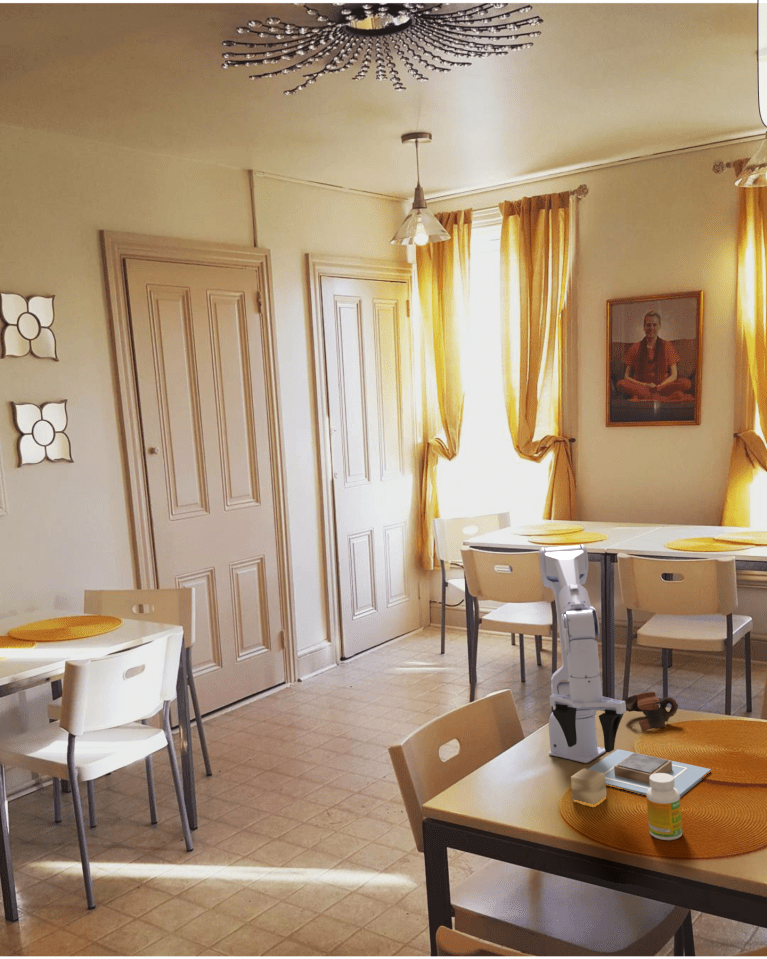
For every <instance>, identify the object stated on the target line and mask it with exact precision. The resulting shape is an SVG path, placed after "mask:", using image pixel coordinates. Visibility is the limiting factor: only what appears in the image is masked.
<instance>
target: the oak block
mask: <svg viewBox="0 0 767 959" xmlns="http://www.w3.org/2000/svg"><path fill="white" fill-rule="evenodd" d="M570 784H571V796H572V800H573V799H574V800H578V801H582V802H586V803H590V804H593V805H594V804H596V803H597V802H599V801H600V800H601V799H603V798H604V797H606V796H607V786H606V782H605V773H601V772H597V771H593V770H589V769H588V768H584V767H583V768H582V769H580V770H578V771H577V772H576V773H574V774H573V775H571V776H570ZM607 797H608V796H607Z"/></svg>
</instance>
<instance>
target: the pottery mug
mask: <svg viewBox="0 0 767 959" xmlns="http://www.w3.org/2000/svg"><path fill="white" fill-rule="evenodd" d="M623 701H625V703H626V712H629V713H630V712H639V713H643V715H644V716H645V717H646V718H644V719H642V720H639V721H638V724H639V727H640V729H641V731H642V732H645V731H649V730H653V729H663V727H666V723H667V722H668V721H669V719H670V718H672V717H674V716H675V715H676V714H677V711H678V708H679V705H678V703H677V701H676V699H675V698H673V697H671V696H666V697H662V698H660V697H657V696H656V692H655V691H647V692H646V691H645V692H642V693H641V692H640V693H638V694H634V695H630V696H629V697H626V698H624V699H623ZM668 704H669V705H671V706H670V709H669V710H668V711H667V709H666V708H667V706H668ZM659 705H660V706H659ZM626 712H624V714H625V713H626Z"/></svg>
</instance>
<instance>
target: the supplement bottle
mask: <svg viewBox="0 0 767 959" xmlns="http://www.w3.org/2000/svg"><path fill="white" fill-rule="evenodd" d="M649 781H650V786H651V787H650V788H649V789H648V790H647V793H646V795H647V796H646V804H647V805H646V807H647V818H648V819H647V822H648V830H649V834H650V835H651V836H652V837H654V838H655V839H657V840H658V839H659V840H663V841H674V840H677V839H679V838H680V837H682V835H683V820H682V810H681V809H682V808H681V806H682V805H681V797H680V794H679V792H678V790H677V789H676V788H674V787H675V784H674V777H673V776H672V775H670V774H666V773H655V774H652V775H650V777H649Z"/></svg>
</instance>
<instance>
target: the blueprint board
mask: <svg viewBox="0 0 767 959" xmlns="http://www.w3.org/2000/svg"><path fill="white" fill-rule="evenodd" d="M587 769H589V770H593V771H597V772H601V773H605V782H606V784H608V785H612V786H616V787H620V788H623V789H626V790H629V791H633V792H636V793H640V794H643V795H646V793H647V790H648V789H649V788H650V787H651V786H650V781H649V777H650V775H652V774H655V773H666V774H670V775H672V776H673V777H674V784H675V787H674V788H676V789H677V790H678V792H679V794H680V798H682V797H683V796H684V795H685V794H687V792H689V791H690V790H692V788H694V787H695V786H696V785H697V784H698V783H700V782H701V781H702V780H703V779H702V777H703V776H704V775H706V774H707V773H708V772H710V771H711V772H712V769H711V768H707V767H702V766H698V765H694V764H689V763H685V762H684V763H683V762H681V761H680V762H679V761H673V760H671V759H665V758H661V757H657V756H651V755H647V754H642V753H638V752H634V751H630V750H629V751H628V750H624V749H619V748H617V749H616V750H615V751H614V750H613V751H612V752H610V754H608V755H607V756H605V757H603V758H602V759H600V760H599V761H598V762H596V763H595V764H593V765H592V766H590V767H588V768H587ZM643 795H642V796H643Z"/></svg>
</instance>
